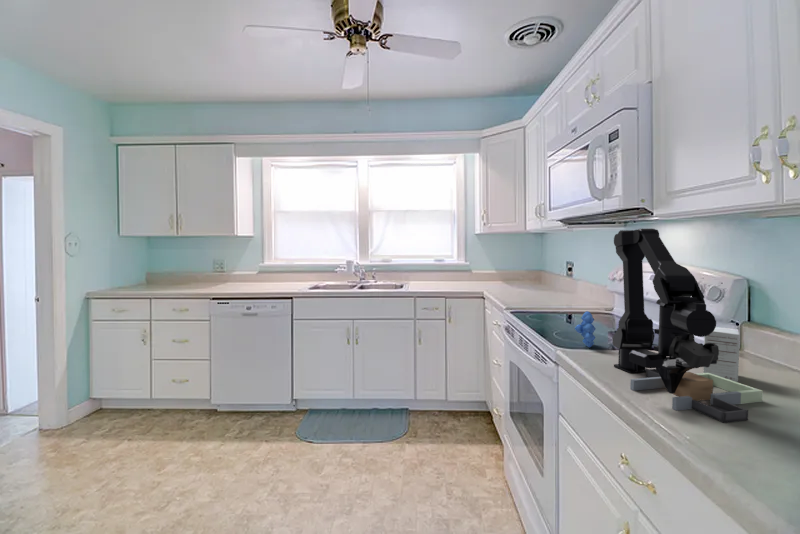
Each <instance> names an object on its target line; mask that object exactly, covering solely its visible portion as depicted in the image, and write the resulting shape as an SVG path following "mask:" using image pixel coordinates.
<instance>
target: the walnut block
mask: <svg viewBox="0 0 800 534" xmlns="http://www.w3.org/2000/svg"><path fill="white" fill-rule="evenodd" d="M697 374H698V373H694V372H691V371H687V372H685V374H684V375H683V377H682V379H681V381H680V383H679V385H678V387H677V389H676V391H675V393H674V394H673V395H675V397H682V396H689V397H692V400H696V401H698V402H700V401H709V400H711V394H713V391H714V390H713V389H714V386H713V380H711V379H708V378H706V377H703V376H700V375H697Z"/></svg>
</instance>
